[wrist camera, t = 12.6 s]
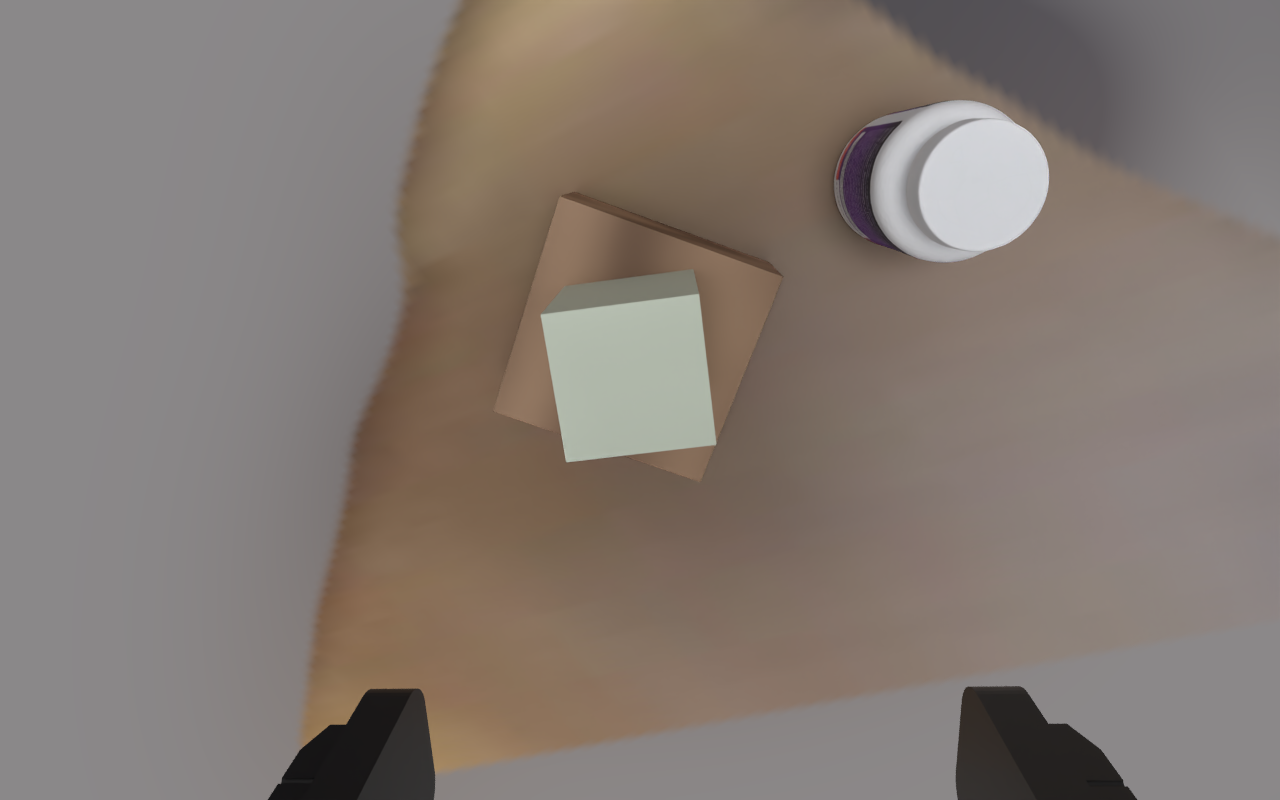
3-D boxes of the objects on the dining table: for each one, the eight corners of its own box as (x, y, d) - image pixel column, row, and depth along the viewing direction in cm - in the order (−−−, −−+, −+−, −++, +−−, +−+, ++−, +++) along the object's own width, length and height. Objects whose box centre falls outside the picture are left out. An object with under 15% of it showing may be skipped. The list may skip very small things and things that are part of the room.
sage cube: (693, 268, 30) (699, 294, 24) (707, 393, 32) (716, 444, 26) (564, 285, 31) (540, 314, 25) (584, 408, 32) (566, 462, 26)
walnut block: (768, 261, 35) (783, 276, 30) (696, 441, 38) (700, 482, 33) (575, 191, 34) (559, 196, 30) (515, 379, 37) (492, 411, 32)
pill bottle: (868, 268, 35) (941, 306, 25) (809, 159, 33) (863, 157, 24) (982, 201, 34) (1102, 214, 24) (925, 86, 32) (1029, 54, 23)
